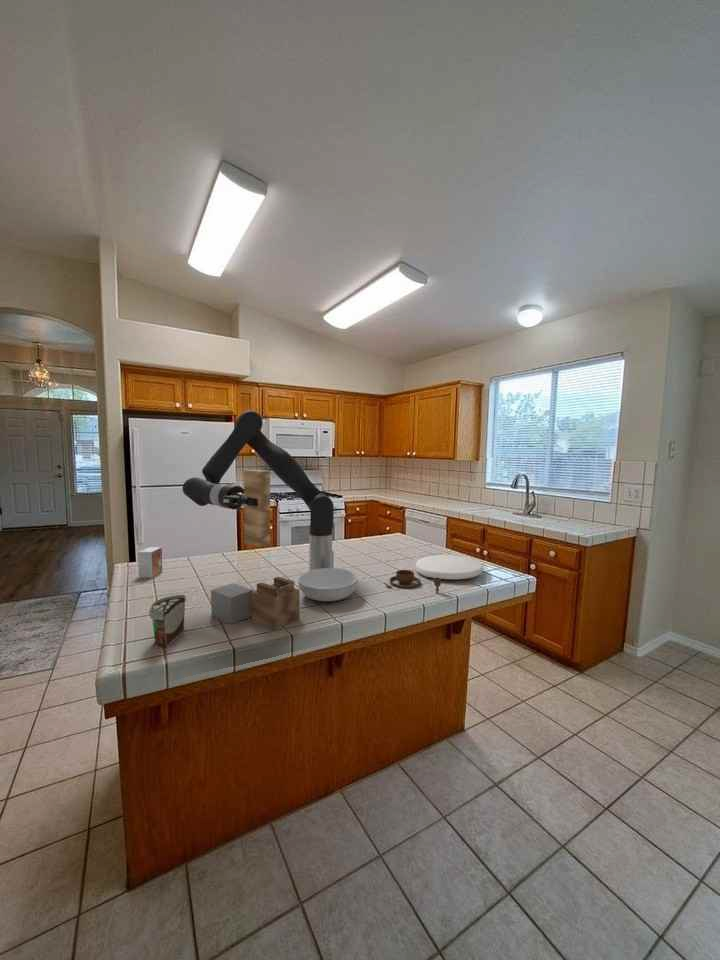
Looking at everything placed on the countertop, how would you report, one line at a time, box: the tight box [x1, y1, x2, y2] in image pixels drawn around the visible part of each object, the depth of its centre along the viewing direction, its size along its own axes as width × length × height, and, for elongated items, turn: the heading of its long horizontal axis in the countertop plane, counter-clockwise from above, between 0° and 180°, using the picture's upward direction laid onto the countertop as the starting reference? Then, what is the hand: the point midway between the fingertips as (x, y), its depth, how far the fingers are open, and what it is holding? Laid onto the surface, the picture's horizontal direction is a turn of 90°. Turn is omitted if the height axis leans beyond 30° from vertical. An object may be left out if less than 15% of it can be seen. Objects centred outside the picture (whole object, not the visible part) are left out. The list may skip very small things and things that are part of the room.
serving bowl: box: [297, 567, 359, 602], centre depth 136 cm, size 21×21×7 cm
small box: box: [137, 546, 163, 579], centre depth 156 cm, size 8×6×10 cm
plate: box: [415, 554, 484, 580], centre depth 163 cm, size 28×6×27 cm
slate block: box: [210, 582, 254, 625], centre depth 119 cm, size 8×10×8 cm
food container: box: [148, 594, 187, 648], centre depth 104 cm, size 12×6×10 cm, turn 178°
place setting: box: [383, 569, 442, 594], centre depth 146 cm, size 18×20×6 cm
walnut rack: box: [251, 576, 300, 631], centre depth 116 cm, size 10×10×12 cm
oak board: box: [243, 469, 272, 548], centre depth 115 cm, size 4×7×22 cm, turn 54°
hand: (263, 501), depth 113 cm, fingers closed on oak board, 4 cm apart
